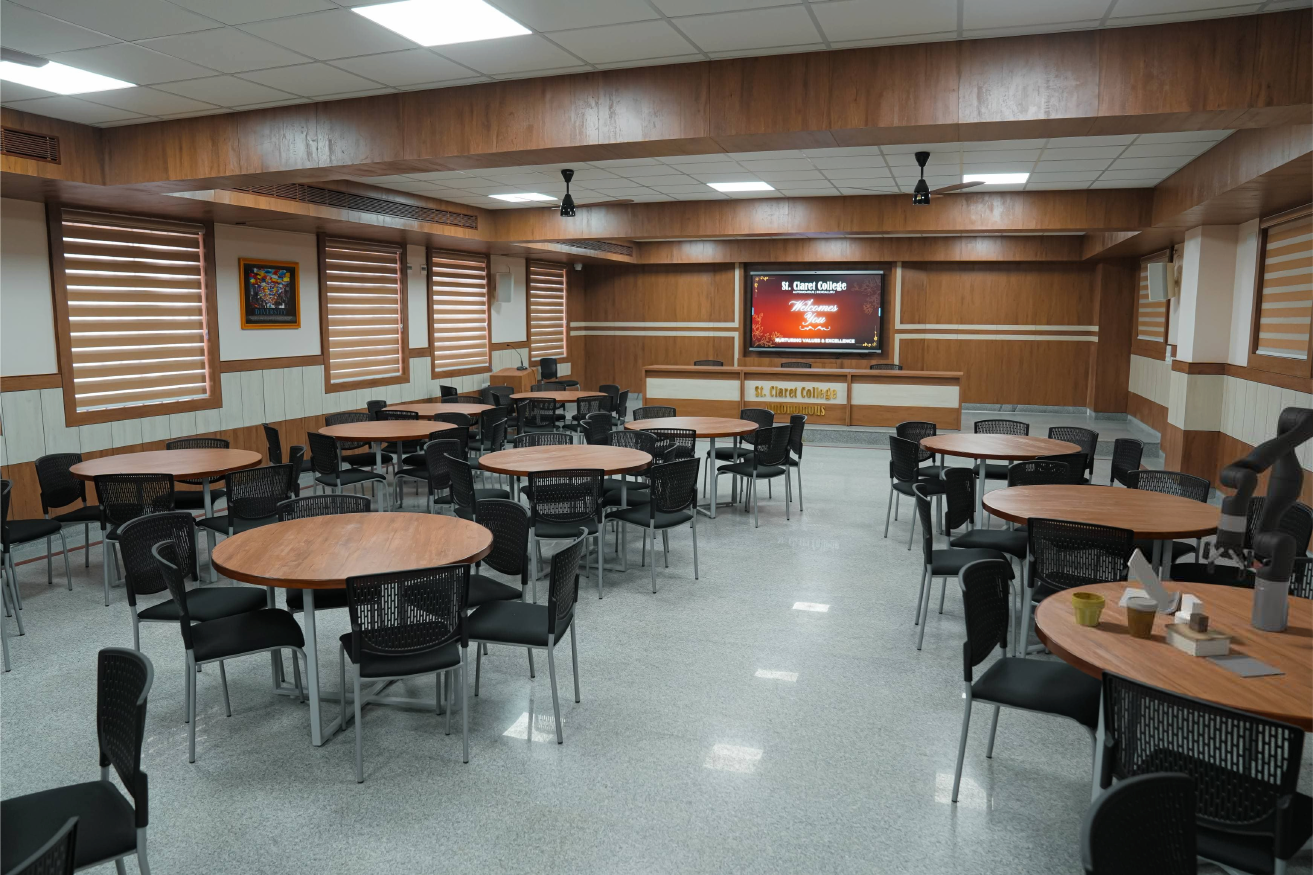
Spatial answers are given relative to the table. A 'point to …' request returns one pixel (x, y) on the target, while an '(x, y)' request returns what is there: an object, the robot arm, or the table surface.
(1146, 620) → the disposable coffee cup
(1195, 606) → the white knob
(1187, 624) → the lid
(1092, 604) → the plant pot
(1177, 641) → the box
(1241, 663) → the mat
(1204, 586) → the table surface
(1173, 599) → the tablet stand
